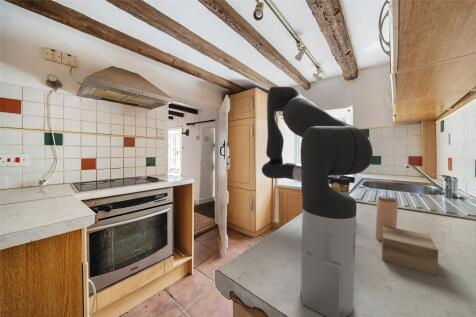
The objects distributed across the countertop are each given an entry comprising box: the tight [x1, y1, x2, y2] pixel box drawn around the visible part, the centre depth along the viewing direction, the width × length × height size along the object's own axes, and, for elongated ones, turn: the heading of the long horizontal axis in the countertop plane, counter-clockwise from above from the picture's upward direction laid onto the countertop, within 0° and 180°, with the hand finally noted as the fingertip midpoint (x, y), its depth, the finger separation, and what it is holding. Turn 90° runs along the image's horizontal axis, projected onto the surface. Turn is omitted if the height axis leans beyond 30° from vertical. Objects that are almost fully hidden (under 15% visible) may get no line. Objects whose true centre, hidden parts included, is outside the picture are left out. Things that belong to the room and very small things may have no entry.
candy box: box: [330, 184, 350, 196], centre depth 82 cm, size 9×4×15 cm, turn 123°
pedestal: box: [381, 226, 439, 276], centre depth 49 cm, size 10×10×6 cm
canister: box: [375, 195, 399, 242], centre depth 60 cm, size 5×5×14 cm
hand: (352, 181), depth 65 cm, fingers open, 8 cm apart
